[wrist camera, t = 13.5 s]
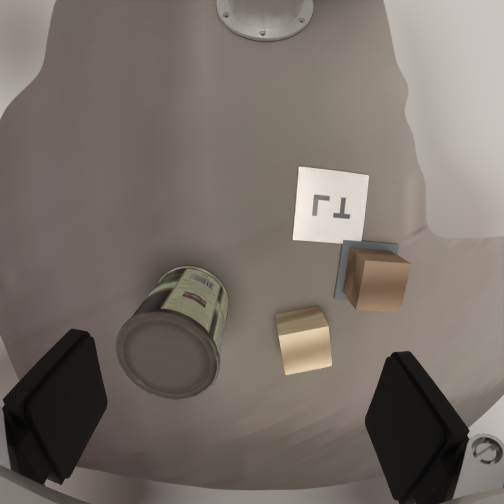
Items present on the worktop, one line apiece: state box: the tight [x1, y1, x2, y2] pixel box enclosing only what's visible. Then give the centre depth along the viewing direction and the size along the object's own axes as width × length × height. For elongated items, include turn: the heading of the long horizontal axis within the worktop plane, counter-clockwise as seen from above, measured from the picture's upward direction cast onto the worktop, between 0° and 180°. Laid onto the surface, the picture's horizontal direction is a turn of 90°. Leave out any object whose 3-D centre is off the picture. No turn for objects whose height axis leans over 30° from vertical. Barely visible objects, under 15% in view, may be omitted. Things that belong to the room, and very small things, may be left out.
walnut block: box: [343, 247, 411, 311], centre depth 36 cm, size 6×6×6 cm
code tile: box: [292, 167, 369, 244], centre depth 37 cm, size 9×9×1 cm
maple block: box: [275, 306, 332, 375], centre depth 39 cm, size 6×6×6 cm
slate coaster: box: [334, 240, 398, 299], centre depth 39 cm, size 8×8×1 cm
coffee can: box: [116, 266, 229, 400], centre depth 34 cm, size 10×10×14 cm
